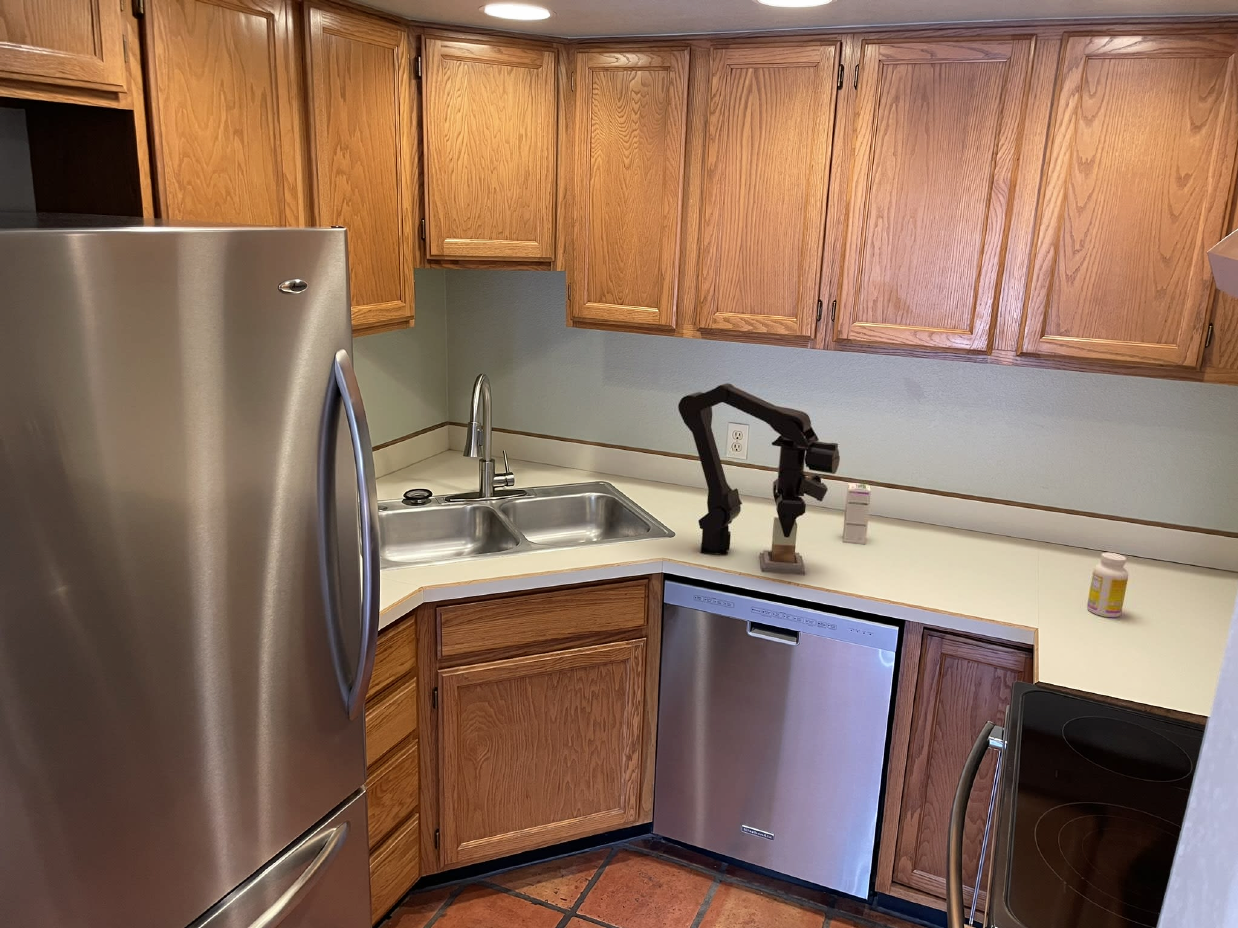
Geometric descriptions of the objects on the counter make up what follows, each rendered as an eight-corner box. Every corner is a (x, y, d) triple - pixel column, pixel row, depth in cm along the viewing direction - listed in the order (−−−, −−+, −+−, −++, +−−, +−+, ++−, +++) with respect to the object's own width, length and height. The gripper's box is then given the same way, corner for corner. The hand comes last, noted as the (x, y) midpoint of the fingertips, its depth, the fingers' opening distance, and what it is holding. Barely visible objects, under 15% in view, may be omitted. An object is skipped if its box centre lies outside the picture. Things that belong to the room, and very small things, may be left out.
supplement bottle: (1124, 612, 198) (1135, 556, 194) (1116, 621, 193) (1127, 564, 190) (1091, 603, 202) (1101, 548, 199) (1082, 611, 197) (1092, 555, 194)
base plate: (761, 571, 212) (762, 563, 211) (759, 556, 221) (760, 548, 221) (805, 574, 211) (805, 566, 210) (801, 559, 220) (802, 551, 220)
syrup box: (865, 544, 233) (872, 490, 229) (842, 542, 234) (848, 487, 230) (864, 537, 238) (871, 484, 235) (841, 535, 240) (847, 481, 236)
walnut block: (771, 564, 213) (773, 544, 212) (770, 556, 218) (772, 537, 217) (793, 566, 213) (795, 545, 212) (791, 558, 218) (793, 538, 217)
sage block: (773, 544, 212) (775, 523, 211) (772, 537, 217) (774, 517, 216) (795, 545, 212) (797, 525, 211) (793, 538, 217) (795, 518, 215)
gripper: (831, 479, 200) (824, 546, 204) (822, 458, 218) (816, 520, 222) (780, 476, 201) (774, 543, 205) (775, 455, 219) (769, 517, 223)
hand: (785, 530), depth 214 cm, fingers open, 9 cm apart
